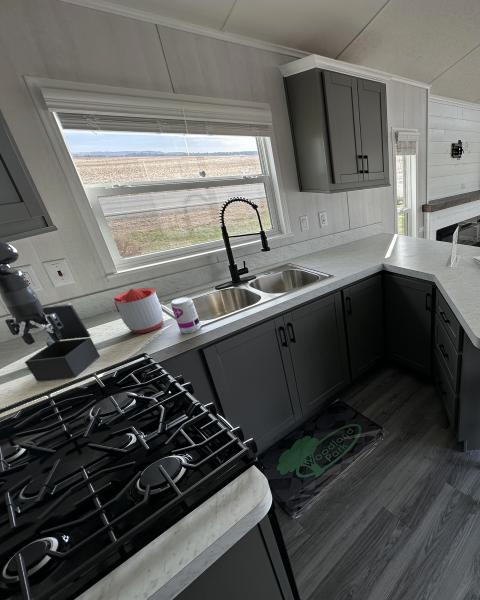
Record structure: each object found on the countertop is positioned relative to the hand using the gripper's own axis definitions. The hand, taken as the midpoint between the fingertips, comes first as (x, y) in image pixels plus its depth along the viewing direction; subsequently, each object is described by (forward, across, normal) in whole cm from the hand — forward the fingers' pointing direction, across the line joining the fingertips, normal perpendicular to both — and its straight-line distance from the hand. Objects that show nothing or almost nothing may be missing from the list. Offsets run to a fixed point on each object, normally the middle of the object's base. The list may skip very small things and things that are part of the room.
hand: (45, 342), depth 116 cm
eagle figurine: (+12, -11, +14) cm, 21 cm away
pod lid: (-3, 0, +9) cm, 10 cm away
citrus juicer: (+14, +13, +32) cm, 37 cm away
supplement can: (+14, +35, +26) cm, 45 cm away
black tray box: (+14, 0, +4) cm, 14 cm away
